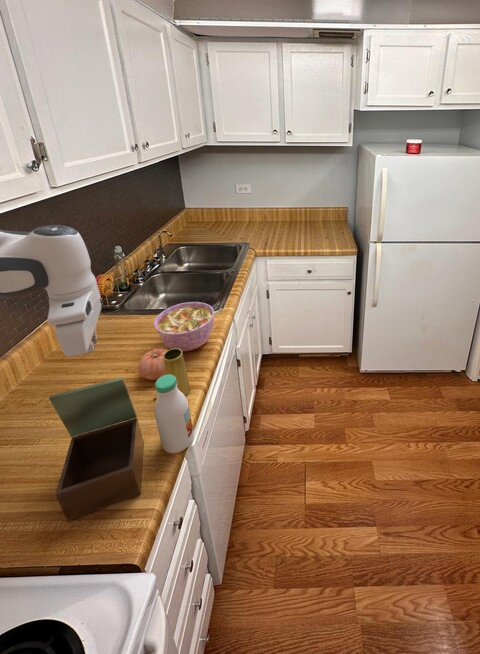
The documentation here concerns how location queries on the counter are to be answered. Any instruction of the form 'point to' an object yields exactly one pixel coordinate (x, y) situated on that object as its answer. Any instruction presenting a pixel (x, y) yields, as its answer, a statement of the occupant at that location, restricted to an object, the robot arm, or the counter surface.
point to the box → (101, 469)
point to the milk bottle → (172, 415)
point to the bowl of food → (185, 325)
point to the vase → (177, 369)
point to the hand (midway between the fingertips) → (91, 347)
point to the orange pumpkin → (153, 364)
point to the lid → (94, 406)
